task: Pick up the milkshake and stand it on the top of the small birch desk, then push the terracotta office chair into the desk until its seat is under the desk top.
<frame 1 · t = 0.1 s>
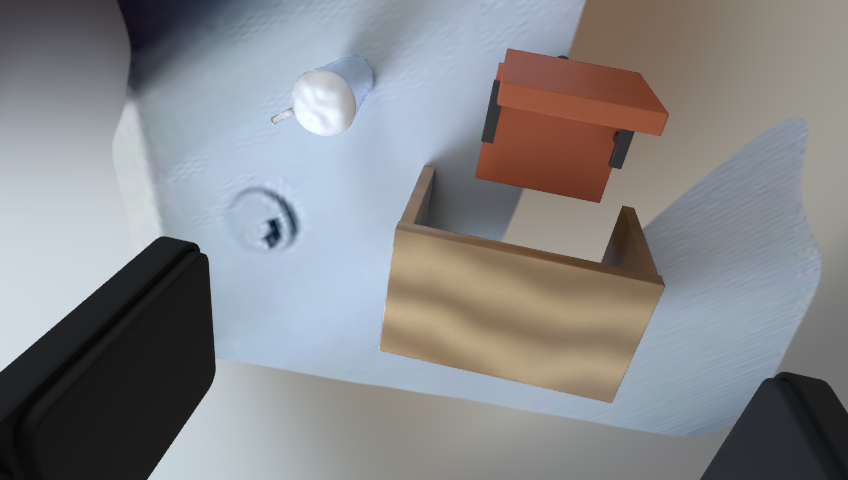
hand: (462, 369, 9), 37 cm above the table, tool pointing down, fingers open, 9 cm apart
desk: (513, 238, 50), on the table
milkshake: (351, 76, 45), on the table
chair: (554, 135, 37), point 8 cm above the table, slide at 0.0 cm
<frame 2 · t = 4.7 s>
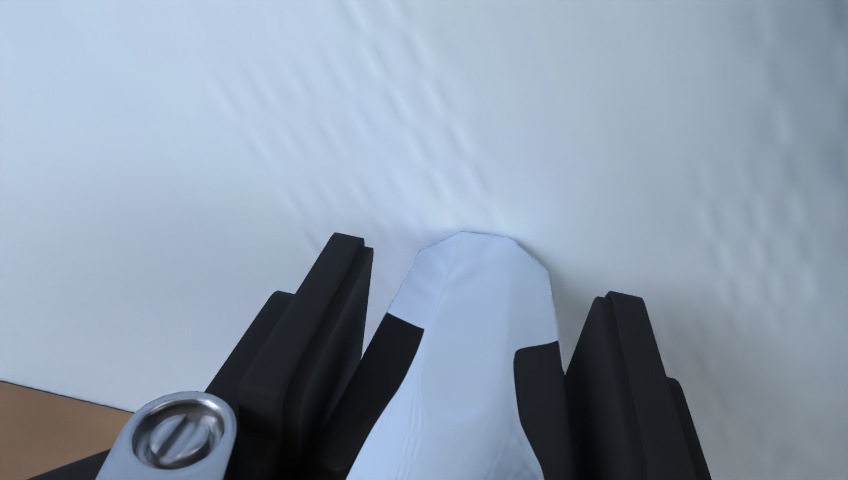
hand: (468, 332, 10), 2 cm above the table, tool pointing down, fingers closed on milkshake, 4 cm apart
milkshake: (475, 274, 12), on the table, touching gripper
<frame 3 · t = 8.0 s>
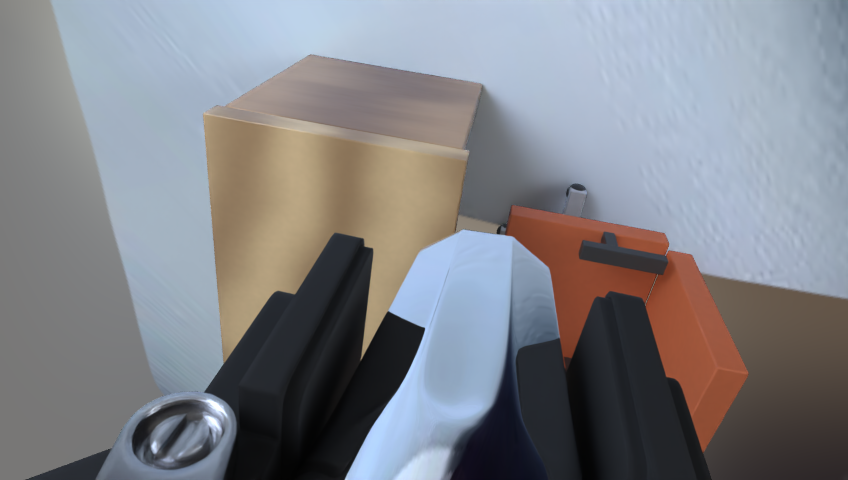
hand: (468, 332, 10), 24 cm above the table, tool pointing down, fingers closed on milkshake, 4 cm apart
desk: (381, 204, 37), on the table
milkshake: (476, 272, 12), point 22 cm above the table, touching gripper
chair: (577, 312, 29), point 8 cm above the table, slide at 0.0 cm
when the fingers open (14 cm above the table, at t = 11.6 s): milkshake stays where it is, resting on desk.
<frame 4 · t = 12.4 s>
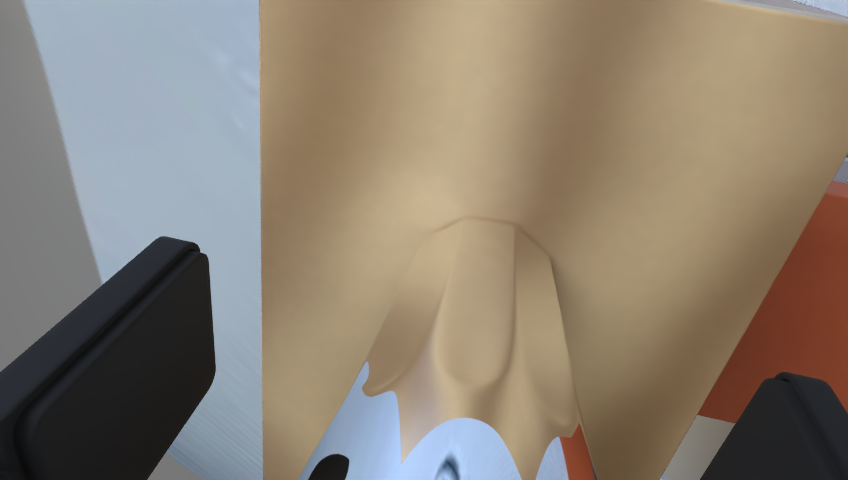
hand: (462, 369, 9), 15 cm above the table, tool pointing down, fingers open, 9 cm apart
desk: (496, 178, 24), on the table
milkshake: (478, 260, 12), point 12 cm above the table, touching desk
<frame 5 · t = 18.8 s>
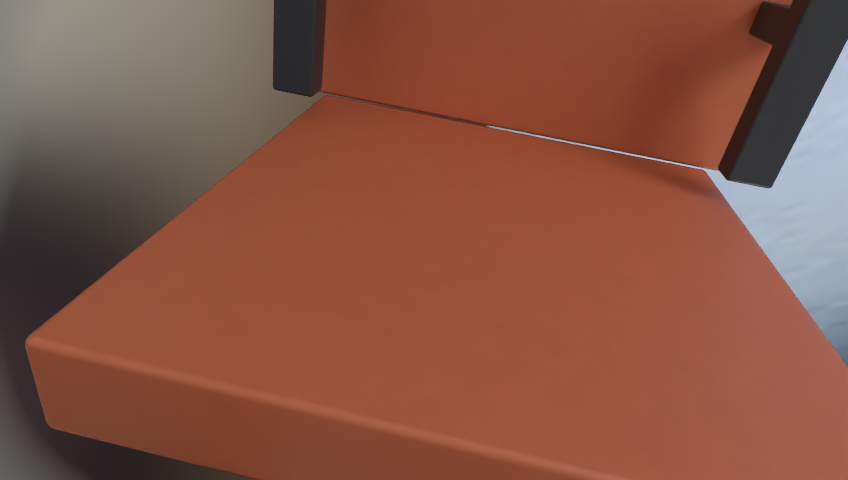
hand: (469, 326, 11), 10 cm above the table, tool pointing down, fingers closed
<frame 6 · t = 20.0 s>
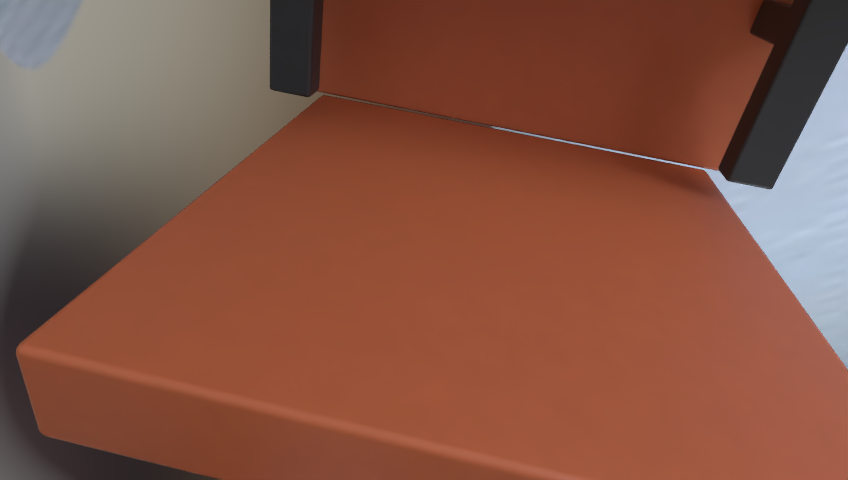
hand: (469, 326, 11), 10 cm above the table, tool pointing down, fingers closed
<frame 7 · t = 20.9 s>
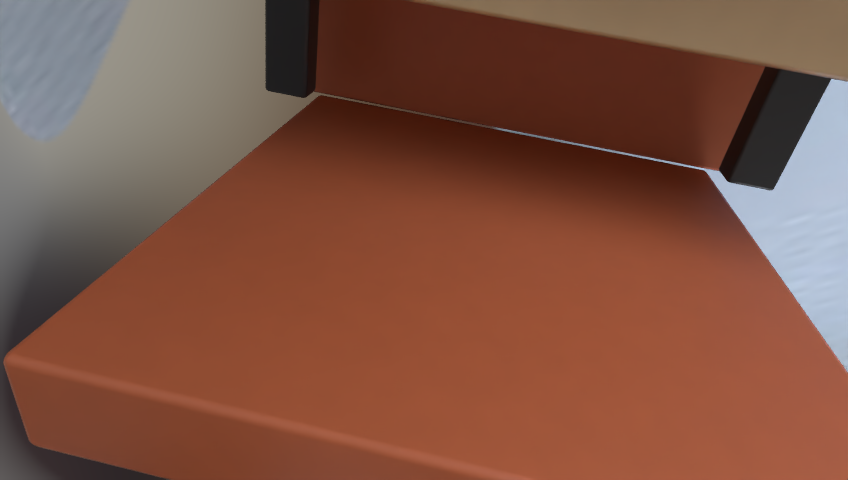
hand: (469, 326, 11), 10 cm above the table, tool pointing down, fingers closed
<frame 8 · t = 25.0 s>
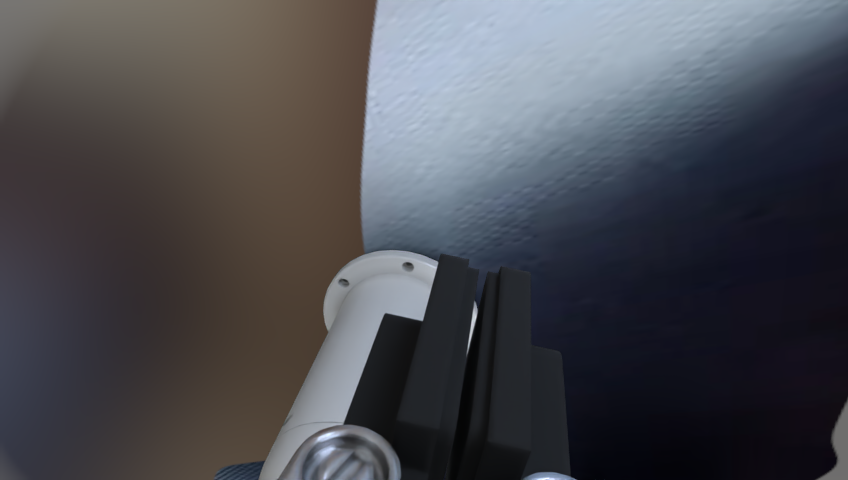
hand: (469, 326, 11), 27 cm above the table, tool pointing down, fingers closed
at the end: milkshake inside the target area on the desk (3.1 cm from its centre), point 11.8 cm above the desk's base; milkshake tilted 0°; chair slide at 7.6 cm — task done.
